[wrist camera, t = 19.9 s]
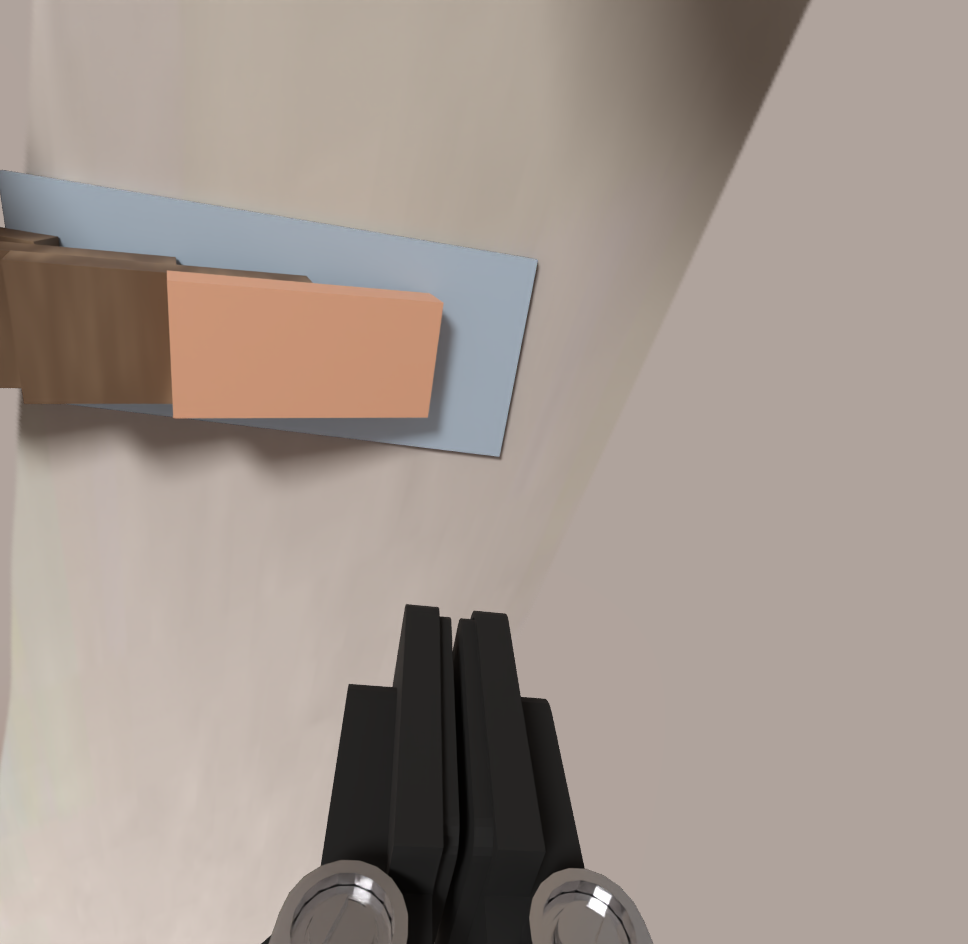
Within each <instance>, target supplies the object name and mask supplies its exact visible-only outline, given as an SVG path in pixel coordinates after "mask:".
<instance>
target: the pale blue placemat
mask: <svg viewBox="0 0 968 944" xmlns="http://www.w3.org/2000/svg"><path fill="white" fill-rule="evenodd" d="M0 195H1V202H2V209H3V215H4V222H5V228H8V229H14V230H21V231H27V232H33V233H39V234H45V235H52V236H58V238H59V247H70V248H81V249H92V250H104V251H115V252H126V253H137V254H148V255H159V256H170V257H176V264H177V265H187V266H199V267H210V268H222V269H234V270H245V271H257V272H269V273H280V274H292V275H303V276H307V277H308V278H309V279H310V280H311V281H312V283H318V284H330V285H341V286H353V287H364V288H376V289H387V290H399V291H410V292H422V293H430V294H432V295H433V296H435V297H436V298H437V299H439V300H440V301H442V302H443V303H444V304H443V311H442V318H441V326H440V333H439V340H438V347H437V355H436V362H435V369H434V377H433V384H432V391H431V398H430V406H429V413H428V418H185V419H193V420H201V421H209V422H218V423H226V424H234V425H242V426H251V427H259V428H267V429H275V430H284V431H292V432H300V433H308V434H317V435H325V436H333V437H341V438H350V439H358V440H366V441H374V442H383V443H391V444H399V445H407V446H416V447H424V448H432V449H440V450H449V451H457V452H465V453H473V454H482V455H490V456H498V457H499V456H500V451H501V446H502V441H503V436H504V431H505V426H506V421H507V415H508V410H509V405H510V400H511V395H512V390H513V385H514V380H515V374H516V369H517V364H518V359H519V354H520V349H521V344H522V339H523V333H524V328H525V323H526V318H527V313H528V308H529V303H530V298H531V292H532V287H533V282H534V277H535V272H536V267H537V262H538V260H537V259H533V258H527V257H521V256H515V255H509V254H503V253H497V252H491V251H485V250H479V249H473V248H467V247H461V246H455V245H449V244H443V243H437V242H431V241H425V240H419V239H413V238H407V237H401V236H395V235H389V234H383V233H377V232H371V231H365V230H359V229H353V228H347V227H341V226H335V225H329V224H323V223H317V222H311V221H305V220H299V219H293V218H287V217H281V216H275V215H269V214H263V213H257V212H251V211H245V210H239V209H233V208H227V207H221V206H215V205H209V204H203V203H197V202H191V201H186V200H180V199H174V198H168V197H162V196H156V195H150V194H144V193H138V192H132V191H126V190H120V189H114V188H108V187H102V186H96V185H90V184H84V183H78V182H72V181H66V180H60V179H54V178H48V177H42V176H36V175H30V174H24V173H18V172H12V171H6V170H0ZM69 405H77V406H86V407H94V408H102V409H110V410H119V411H127V412H135V413H143V414H152V415H160V416H168V417H173V404H69Z"/></svg>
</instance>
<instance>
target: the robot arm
mask: <svg viewBox="0 0 968 944" xmlns="http://www.w3.org/2000/svg"><path fill="white" fill-rule="evenodd" d="M261 944H653V942H652V939H651V937H650V934H649V932H648V929H647V927H646V924H645V922H644V920H643V918H642V916H641V915H640V913H639V911H638V909H637V907H636V905H635V903H634V902H633V901H632V900H631V898H630V897H629V896H628V895H627V894H626V893H625V892H624V891H623V889H622V888H621V887H620V886H618V885H617V884H615V883H614V882H612V881H611V880H610V879H608V878H607V877H605V876H604V875H602V874H599V873H596V872H593V871H590V870H588V869H585V868H584V863H583V859H582V854H581V849H580V844H579V840H578V835H577V830H576V825H575V821H574V816H573V811H572V807H571V802H570V797H569V792H568V787H567V783H566V778H565V773H564V768H563V764H562V759H561V754H560V749H559V745H558V740H557V735H556V731H555V726H554V721H553V716H552V712H551V709H550V705H549V703H548V701H547V700H546V699H541V698H527V697H521V696H520V690H519V683H518V677H517V671H516V665H515V658H514V652H513V646H512V640H511V634H510V627H509V621H508V617H507V615H506V614H503V613H493V612H482V611H473V613H472V615H471V619H462V618H461V619H460V620H459V623H458V628H457V633H456V638H455V642H454V647H453V652H452V627H451V618H450V617H440V616H439V607H430V606H419V605H409V604H406V606H405V611H404V617H403V623H402V630H401V636H400V642H399V649H398V655H397V662H396V668H395V674H394V681H393V687H382V686H369V685H356V684H349V686H348V691H347V698H346V704H345V711H344V717H343V724H342V730H341V737H340V743H339V750H338V757H337V763H336V770H335V776H334V783H333V789H332V796H331V802H330V809H329V815H328V822H327V829H326V835H325V842H324V848H323V855H322V861H321V866H320V867H318V868H317V869H315V870H314V871H312V872H310V873H309V874H307V875H306V876H304V877H303V878H302V879H301V880H300V881H299V883H298V884H297V885H296V886H295V887H294V888H293V889H292V890H291V891H290V892H289V894H288V896H287V898H286V900H285V902H284V904H283V906H282V908H281V910H280V912H279V915H278V918H277V921H276V924H275V927H274V929H273V932H272V935H271V936H270V937H268V938H267V939H266V940H265V941H264V942H263V943H261Z"/></svg>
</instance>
